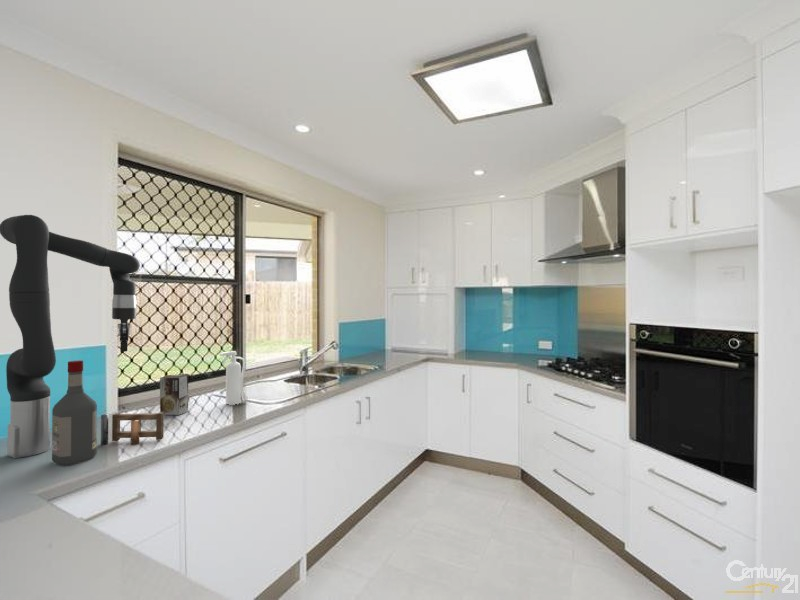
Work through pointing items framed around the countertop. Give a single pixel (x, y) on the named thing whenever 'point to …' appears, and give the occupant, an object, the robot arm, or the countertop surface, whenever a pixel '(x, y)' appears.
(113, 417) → the gate
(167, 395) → the coffee box
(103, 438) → the hinge post
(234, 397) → the fire extinguisher
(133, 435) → the post
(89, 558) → the countertop surface
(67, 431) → the liquor
